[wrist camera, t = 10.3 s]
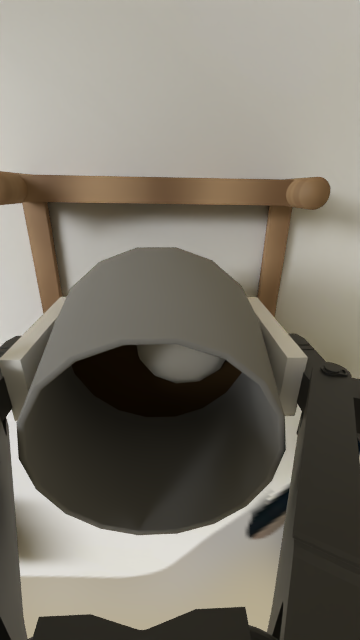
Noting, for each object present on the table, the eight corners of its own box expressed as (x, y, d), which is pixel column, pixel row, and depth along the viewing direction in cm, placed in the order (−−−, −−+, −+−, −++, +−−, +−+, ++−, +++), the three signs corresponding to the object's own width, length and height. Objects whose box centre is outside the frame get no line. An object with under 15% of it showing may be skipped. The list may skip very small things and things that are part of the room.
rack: (56, 369, 25) (31, 409, 20) (19, 174, 19) (-27, 170, 14) (264, 366, 26) (285, 404, 21) (294, 179, 20) (333, 177, 15)
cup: (213, 207, 15) (286, 236, 6) (255, 353, 19) (340, 509, 10) (49, 270, 16) (-107, 378, 7) (120, 397, 20) (81, 576, 11)
